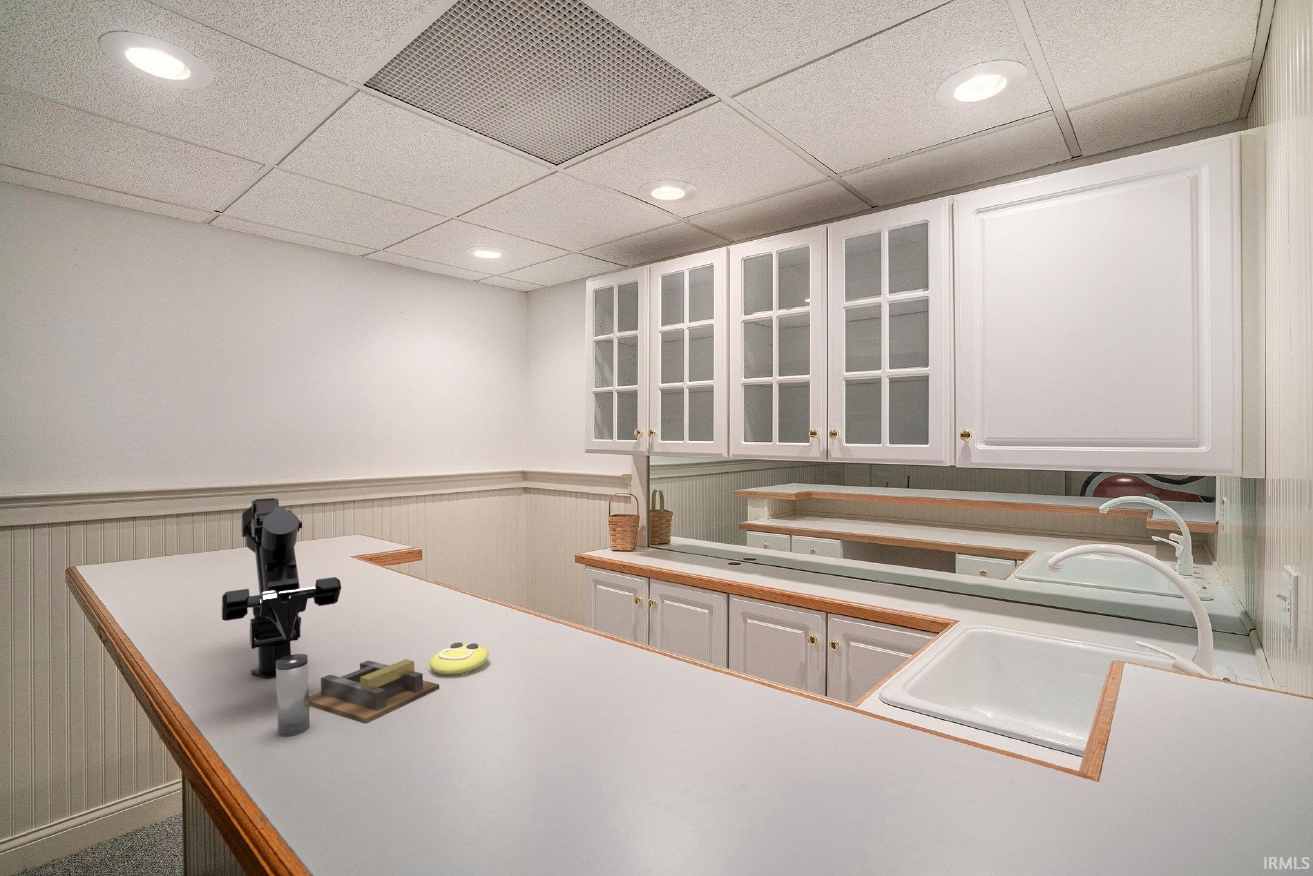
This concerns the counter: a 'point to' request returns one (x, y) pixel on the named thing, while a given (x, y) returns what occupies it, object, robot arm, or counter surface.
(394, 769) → the counter surface
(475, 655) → the emoji
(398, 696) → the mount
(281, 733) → the metal canister
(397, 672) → the bar
